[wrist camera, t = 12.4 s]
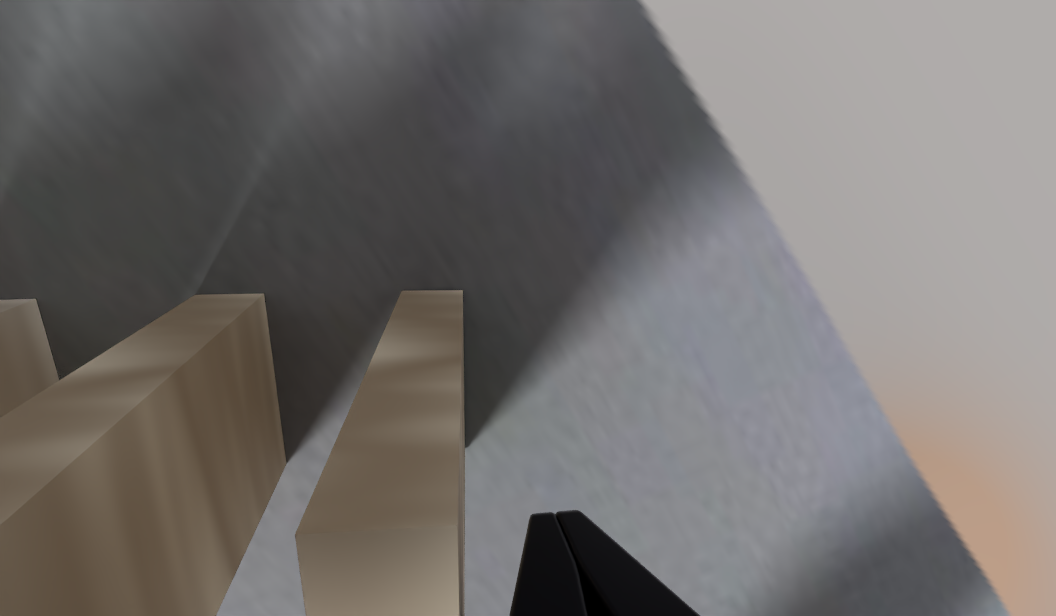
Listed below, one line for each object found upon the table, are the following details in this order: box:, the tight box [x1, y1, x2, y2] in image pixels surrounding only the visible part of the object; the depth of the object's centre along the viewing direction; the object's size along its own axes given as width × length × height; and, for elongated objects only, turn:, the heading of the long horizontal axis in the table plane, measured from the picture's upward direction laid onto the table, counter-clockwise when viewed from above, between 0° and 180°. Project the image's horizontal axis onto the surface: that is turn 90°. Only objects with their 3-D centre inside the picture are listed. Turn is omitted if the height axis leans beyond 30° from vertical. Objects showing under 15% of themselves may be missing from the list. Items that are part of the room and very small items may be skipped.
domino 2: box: [295, 290, 465, 616], centre depth 10 cm, size 2×5×9 cm, turn 179°
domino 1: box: [0, 293, 286, 616], centre depth 9 cm, size 2×5×9 cm, turn 179°
